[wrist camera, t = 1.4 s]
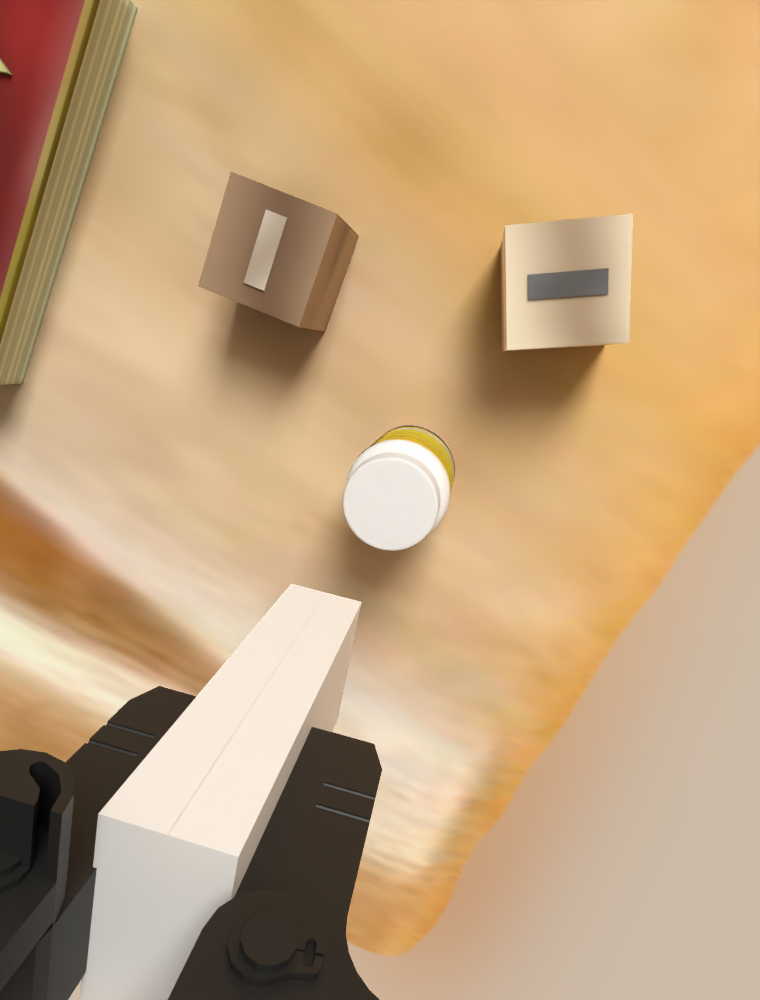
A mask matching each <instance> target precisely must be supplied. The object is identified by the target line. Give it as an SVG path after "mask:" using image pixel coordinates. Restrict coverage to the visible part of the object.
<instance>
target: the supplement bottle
mask: <svg viewBox="0 0 760 1000" xmlns="http://www.w3.org/2000/svg"><path fill="white" fill-rule="evenodd" d="M454 475H455V463H454V458H453V455H452V452H451V450H450V448H449V446H448V445H447V443H446V442H445V441H444V440H443V439H442V438H441V437H440V436H439V435H438V434H436V433H435V432H433V431H432V430H429V429H427V428H424V427H421V426H414V425H407V426H401V427H397V428H394V429H392V430H390V431H388V432H387V433H385V434H384V435H382V436H381V437H380V438H379V439H378V440H377V441H375V442H374V443H373V444H372V445H371V446H370V447H368V448H367V449H366V450H365V451H363V452H362V453H361V455H360V456H359V457H358V458H357V460H356V461H355V463H354V464H353V466H352V468H351V470H350V472H349V475H348V479H347V485H346V488H345V491H344V496H343V510H344V514H345V517H346V520H347V523H348V525H349V526H350V528H351V529H352V531H353V532H354V533H355V535H357V536H358V537H359V538H360V539H361V540H362V541H363V542H365V543H367V544H368V545H370V546H372V547H375V548H378V549H382V550H390V551H395V550H402V549H406V548H409V547H412V546H414V545H416V544H417V543H419V542H420V541H421V540H423V539H424V538H425V537H426V536H427V535H428V534H429V533H430V532H432V531H433V530H434V529H435V528H436V527H437V526H438V525H439V523H440V522H441V521H442V519H443V517H444V516H445V513H446V511H447V508H448V504H449V500H450V494H451V490H452V485H453V481H454Z"/></svg>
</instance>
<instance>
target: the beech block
mask: <svg viewBox="0 0 760 1000" xmlns="http://www.w3.org/2000/svg"><path fill="white" fill-rule="evenodd" d="M632 228H633V214H623V215H613V216H602V217H591V218H580V219H570V220H559V221H548V222H537V223H527V224H516V225H505V229H504V233H503V238H502V242H501V312H502V351H517V350H534V349H550V348H566V347H583V346H599V345H611V344H621V343H629V333H630V298H631V263H632Z"/></svg>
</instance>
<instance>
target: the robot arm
mask: <svg viewBox="0 0 760 1000" xmlns="http://www.w3.org/2000/svg"><path fill="white" fill-rule="evenodd" d="M361 604H362V602H360V601H357V600H353V599H349V598H345V597H341V596H337V595H333V594H329V593H325V592H321V591H318V590H314V589H310V588H306V587H302V586H298V585H294V584H290V586H289V587H288V588H287V589H286V590H285V592H284V593H283V594H282V595H281V596H280V598H279V599H278V600H277V601H276V602H275V603H274V605H273V606H272V607H271V608H270V609H269V611H268V612H267V613H266V614H265V615H264V617H263V618H262V619H261V620H260V621H259V623H258V624H257V625H256V626H255V627H254V629H253V630H252V631H251V632H250V633H249V635H248V636H247V637H246V638H245V639H244V640H243V642H242V643H241V644H240V645H239V646H238V648H237V649H236V650H235V651H234V652H233V654H232V655H231V656H230V657H229V658H228V660H227V661H226V662H225V663H224V664H223V666H222V667H221V668H220V669H219V670H218V671H217V673H216V674H215V675H214V676H213V677H212V679H211V680H210V681H209V682H208V683H207V685H206V686H205V687H204V688H203V689H202V691H201V692H200V693H199V694H198V695H197V697H196V696H193V695H189V694H185V693H182V692H178V691H175V690H171V689H168V688H164V687H161V686H159V687H157V688H154V689H152V690H150V691H148V692H146V693H144V694H142V695H139V696H137V697H135V698H133V699H131V700H129V701H128V702H127V703H126V704H125V705H124V706H123V707H122V708H121V709H120V710H119V711H118V712H117V713H116V714H115V715H114V716H113V717H112V718H111V719H110V720H109V721H108V723H107V725H106V726H105V725H103V726H102V727H101V728H100V729H99V730H98V731H97V732H96V733H95V734H94V735H93V736H92V737H91V738H90V741H89V743H88V744H86V743H85V744H84V745H83V746H82V747H81V748H80V749H79V750H78V751H77V752H76V753H75V754H74V755H73V756H72V757H71V758H70V759H69V760H68V761H67V762H63V761H61V760H59V759H57V758H55V757H53V756H51V755H49V754H47V753H44V752H37V751H30V750H23V749H18V750H8V751H0V1000H68V999H69V997H70V996H71V994H72V993H73V991H74V990H75V988H76V986H77V985H78V983H79V982H80V980H81V979H82V980H81V990H80V1000H379V999H378V998H377V997H376V996H375V995H374V994H373V993H372V992H371V991H370V990H369V989H368V988H367V986H366V985H365V983H364V982H363V980H362V979H361V977H360V976H359V975H358V973H357V972H356V969H355V967H354V964H353V962H352V960H351V957H350V955H349V952H348V945H347V939H346V924H347V915H348V911H349V906H350V902H351V898H352V894H353V890H354V885H355V881H356V877H357V873H358V869H359V864H360V860H361V856H362V852H363V848H364V843H365V839H366V835H367V831H368V827H369V822H370V818H371V814H372V810H373V805H374V801H375V797H376V793H377V789H378V784H379V780H380V776H381V772H382V768H381V765H380V762H379V758H378V755H377V752H376V749H375V746H374V744H372V743H368V742H365V741H361V740H358V739H354V738H351V737H347V736H344V735H340V734H336V733H333V732H332V731H333V728H334V726H335V723H336V721H337V718H338V713H339V708H340V704H341V699H342V694H343V689H344V685H345V680H346V675H347V670H348V666H349V661H350V656H351V651H352V647H353V642H354V637H355V632H356V628H357V623H358V618H359V613H360V609H361Z"/></svg>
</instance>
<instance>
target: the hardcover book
mask: <svg viewBox="0 0 760 1000" xmlns="http://www.w3.org/2000/svg"><path fill="white" fill-rule="evenodd" d="M137 9H138V8H137V7H136V6H135V5H134V4H133V3H132V2H131V1H130V0H0V385H3V384H21V383H23V381H24V378H25V374H26V371H27V368H28V364H29V361H30V358H31V355H32V351H33V348H34V345H35V342H36V338H37V335H38V332H39V329H40V325H41V322H42V319H43V316H44V312H45V309H46V306H47V302H48V299H49V296H50V293H51V289H52V286H53V283H54V280H55V276H56V273H57V270H58V267H59V263H60V260H61V257H62V253H63V250H64V247H65V244H66V240H67V237H68V234H69V231H70V227H71V224H72V221H73V218H74V214H75V211H76V208H77V205H78V201H79V198H80V195H81V191H82V188H83V185H84V182H85V178H86V175H87V172H88V169H89V165H90V162H91V159H92V156H93V152H94V149H95V146H96V142H97V139H98V136H99V133H100V129H101V126H102V123H103V120H104V116H105V113H106V110H107V107H108V103H109V100H110V97H111V94H112V90H113V87H114V84H115V80H116V77H117V74H118V71H119V67H120V64H121V61H122V58H123V54H124V51H125V48H126V45H127V41H128V38H129V35H130V32H131V28H132V25H133V22H134V18H135V15H136V12H137Z"/></svg>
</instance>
